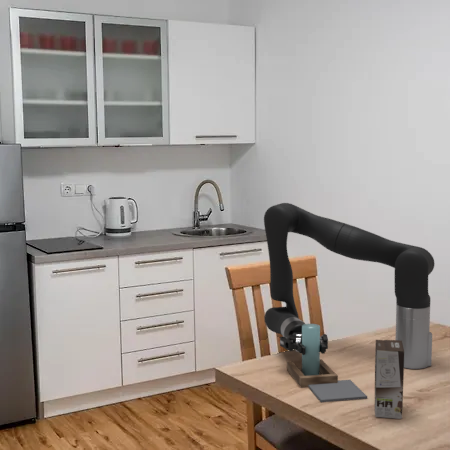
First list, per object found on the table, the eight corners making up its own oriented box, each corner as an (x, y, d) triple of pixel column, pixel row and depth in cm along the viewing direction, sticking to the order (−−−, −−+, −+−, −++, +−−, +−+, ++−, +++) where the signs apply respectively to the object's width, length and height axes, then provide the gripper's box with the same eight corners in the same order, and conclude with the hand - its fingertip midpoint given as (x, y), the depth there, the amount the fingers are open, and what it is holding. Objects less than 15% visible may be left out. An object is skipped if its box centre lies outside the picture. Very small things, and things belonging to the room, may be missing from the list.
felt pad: (350, 381, 182) (350, 379, 182) (367, 398, 170) (367, 396, 170) (306, 384, 180) (306, 382, 180) (320, 402, 168) (320, 399, 168)
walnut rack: (321, 367, 193) (321, 359, 192) (337, 384, 180) (337, 375, 179) (286, 370, 191) (287, 361, 191) (300, 387, 178) (300, 378, 178)
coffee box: (403, 419, 158) (405, 351, 155) (374, 417, 159) (375, 349, 157) (401, 404, 166) (402, 339, 164) (374, 402, 168) (375, 338, 166)
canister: (316, 372, 189) (316, 323, 187) (322, 378, 184) (322, 328, 182) (299, 374, 188) (299, 324, 186) (304, 380, 183) (304, 329, 182)
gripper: (272, 321, 197) (288, 338, 181) (320, 318, 200) (340, 335, 183) (272, 346, 198) (287, 366, 182) (319, 343, 201) (339, 362, 184)
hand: (313, 350), depth 182 cm, fingers closed on canister, 4 cm apart
